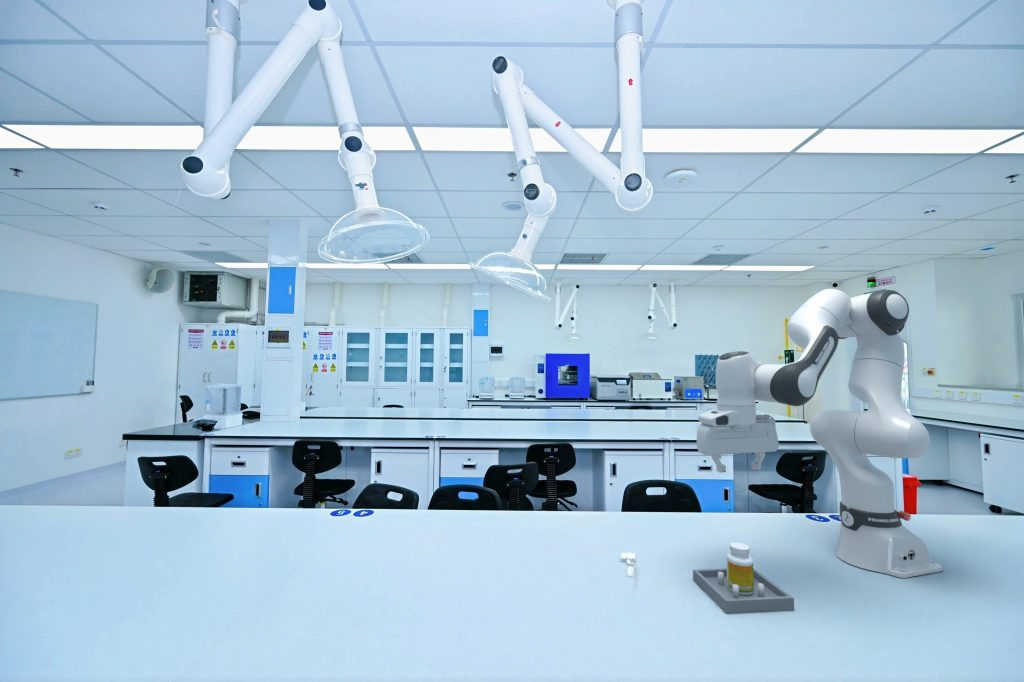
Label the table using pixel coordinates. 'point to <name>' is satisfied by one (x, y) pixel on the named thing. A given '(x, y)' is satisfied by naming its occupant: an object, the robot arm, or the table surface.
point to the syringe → (629, 558)
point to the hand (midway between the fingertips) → (738, 470)
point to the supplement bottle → (740, 569)
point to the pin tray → (732, 602)
